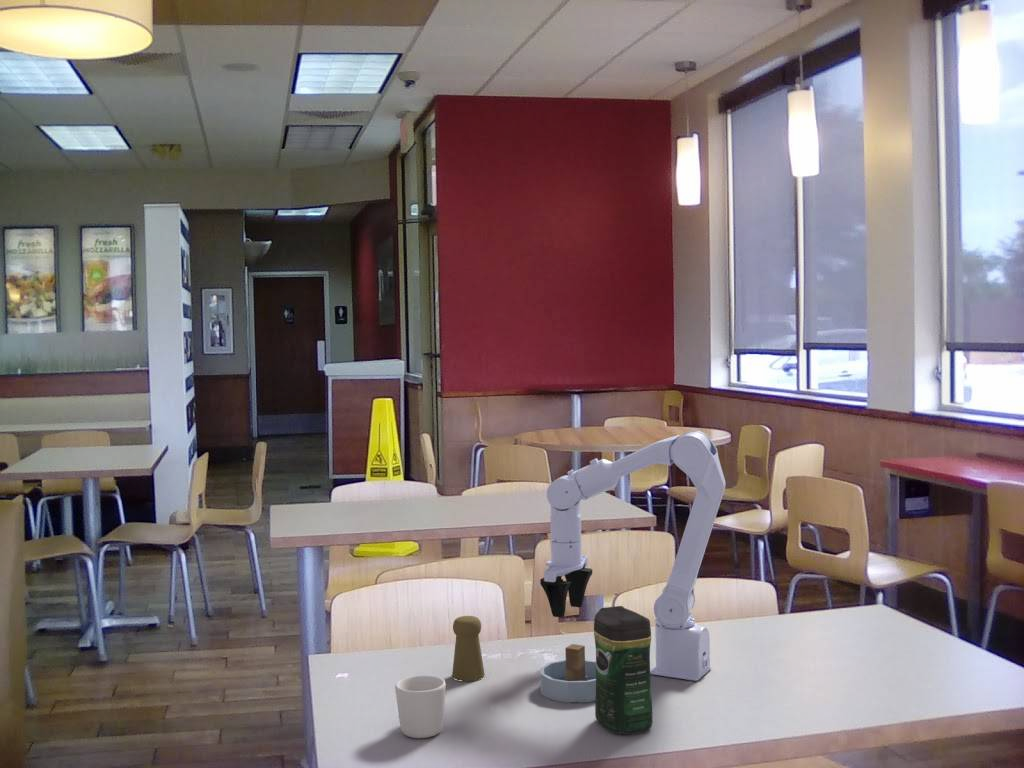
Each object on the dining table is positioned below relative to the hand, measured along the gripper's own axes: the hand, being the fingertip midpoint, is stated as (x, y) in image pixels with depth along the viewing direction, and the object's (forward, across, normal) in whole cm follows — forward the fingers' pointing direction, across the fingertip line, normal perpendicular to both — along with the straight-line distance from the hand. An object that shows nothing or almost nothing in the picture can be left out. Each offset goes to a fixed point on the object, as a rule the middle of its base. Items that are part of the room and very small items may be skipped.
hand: (567, 611), depth 198 cm
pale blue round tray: (+10, +13, +8) cm, 18 cm away
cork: (+10, +14, -13) cm, 22 cm away
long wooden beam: (+9, +13, +8) cm, 17 cm away
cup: (+10, +40, -6) cm, 41 cm away
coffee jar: (+10, +24, +22) cm, 34 cm away
